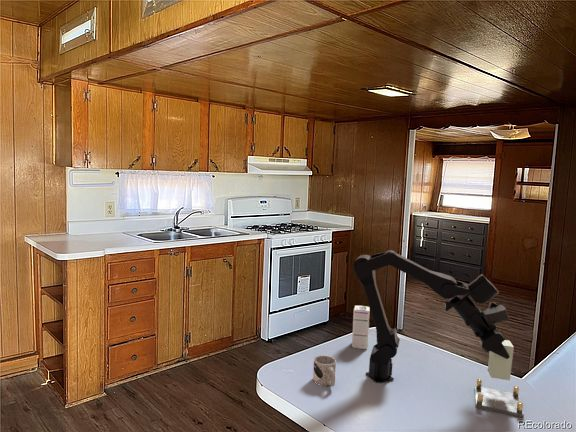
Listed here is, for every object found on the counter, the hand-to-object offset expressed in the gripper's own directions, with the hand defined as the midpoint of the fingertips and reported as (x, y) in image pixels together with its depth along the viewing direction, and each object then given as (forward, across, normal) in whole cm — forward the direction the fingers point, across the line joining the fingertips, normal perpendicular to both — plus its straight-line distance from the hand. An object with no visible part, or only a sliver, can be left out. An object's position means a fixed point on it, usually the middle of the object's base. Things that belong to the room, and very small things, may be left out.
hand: (506, 354), depth 130 cm
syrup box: (-20, +26, +40) cm, 52 cm away
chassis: (+8, -3, +11) cm, 14 cm away
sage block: (+4, 0, +6) cm, 7 cm away
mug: (-26, -7, +46) cm, 53 cm away
